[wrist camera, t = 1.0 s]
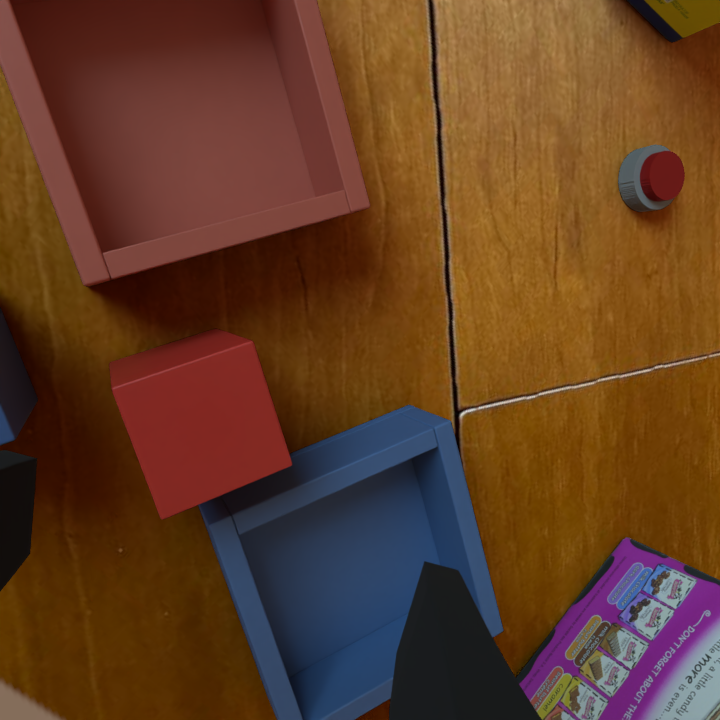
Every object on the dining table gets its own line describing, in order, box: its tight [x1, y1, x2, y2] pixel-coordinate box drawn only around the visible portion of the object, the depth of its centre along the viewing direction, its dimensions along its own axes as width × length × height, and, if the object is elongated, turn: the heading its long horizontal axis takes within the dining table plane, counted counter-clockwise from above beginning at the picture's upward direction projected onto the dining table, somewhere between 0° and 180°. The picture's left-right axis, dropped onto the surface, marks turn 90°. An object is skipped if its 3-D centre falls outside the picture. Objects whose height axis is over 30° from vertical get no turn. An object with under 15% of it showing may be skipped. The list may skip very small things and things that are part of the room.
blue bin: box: [198, 405, 503, 720], centre depth 24 cm, size 10×10×4 cm
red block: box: [109, 328, 292, 519], centre depth 20 cm, size 4×4×6 cm
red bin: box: [0, 0, 370, 287], centre depth 20 cm, size 10×10×4 cm
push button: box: [618, 145, 685, 212], centre depth 30 cm, size 3×3×2 cm
